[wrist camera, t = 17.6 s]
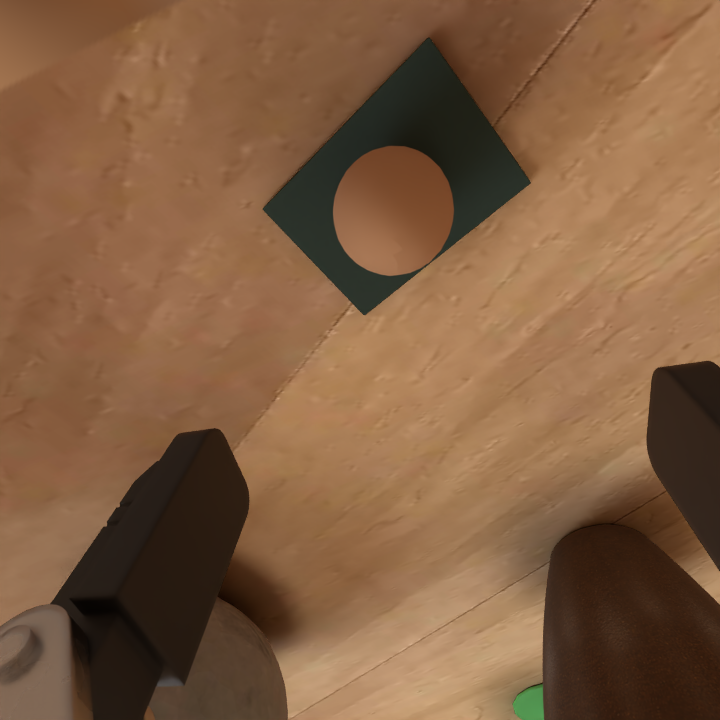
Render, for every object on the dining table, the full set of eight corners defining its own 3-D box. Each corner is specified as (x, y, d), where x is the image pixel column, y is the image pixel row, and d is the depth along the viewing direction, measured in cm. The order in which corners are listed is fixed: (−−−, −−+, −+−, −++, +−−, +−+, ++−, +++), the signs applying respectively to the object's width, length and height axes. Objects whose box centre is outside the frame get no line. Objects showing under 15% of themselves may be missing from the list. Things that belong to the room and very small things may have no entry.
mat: (428, 37, 21) (429, 36, 20) (529, 181, 23) (531, 182, 23) (264, 207, 25) (262, 209, 24) (364, 312, 27) (364, 316, 27)
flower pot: (577, 635, 41) (664, 908, 28) (459, 554, 37) (492, 827, 24) (745, 559, 35) (967, 864, 21) (625, 452, 31) (804, 743, 17)
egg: (455, 144, 22) (478, 168, 15) (436, 250, 25) (449, 312, 18) (347, 132, 22) (322, 151, 15) (340, 240, 25) (315, 296, 18)
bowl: (190, 508, 37) (76, 732, 24) (349, 637, 44) (327, 863, 31) (49, 590, 45) (-97, 795, 32) (204, 689, 52) (138, 889, 39)
